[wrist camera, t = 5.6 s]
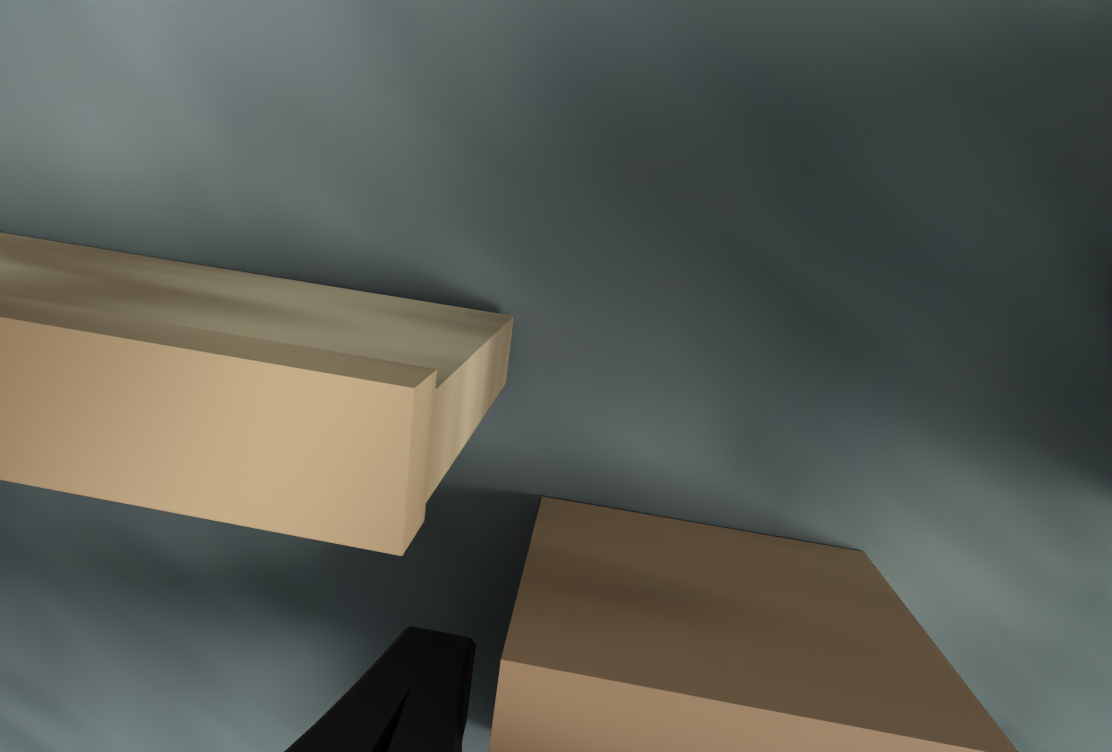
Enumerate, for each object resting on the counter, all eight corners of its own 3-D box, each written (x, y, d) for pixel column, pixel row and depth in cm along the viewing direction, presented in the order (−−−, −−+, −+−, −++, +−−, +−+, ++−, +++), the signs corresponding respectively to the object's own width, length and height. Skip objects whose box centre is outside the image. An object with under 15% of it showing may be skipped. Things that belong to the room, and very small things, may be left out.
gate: (-74, 295, 10) (-651, 355, 5) (-90, 206, 10) (-735, 190, 5) (504, 394, 9) (402, 556, 5) (515, 304, 9) (414, 388, 4)
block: (781, 791, 12) (865, 1071, 8) (507, 737, 12) (458, 979, 8) (863, 551, 10) (1024, 759, 6) (542, 496, 10) (500, 658, 6)
